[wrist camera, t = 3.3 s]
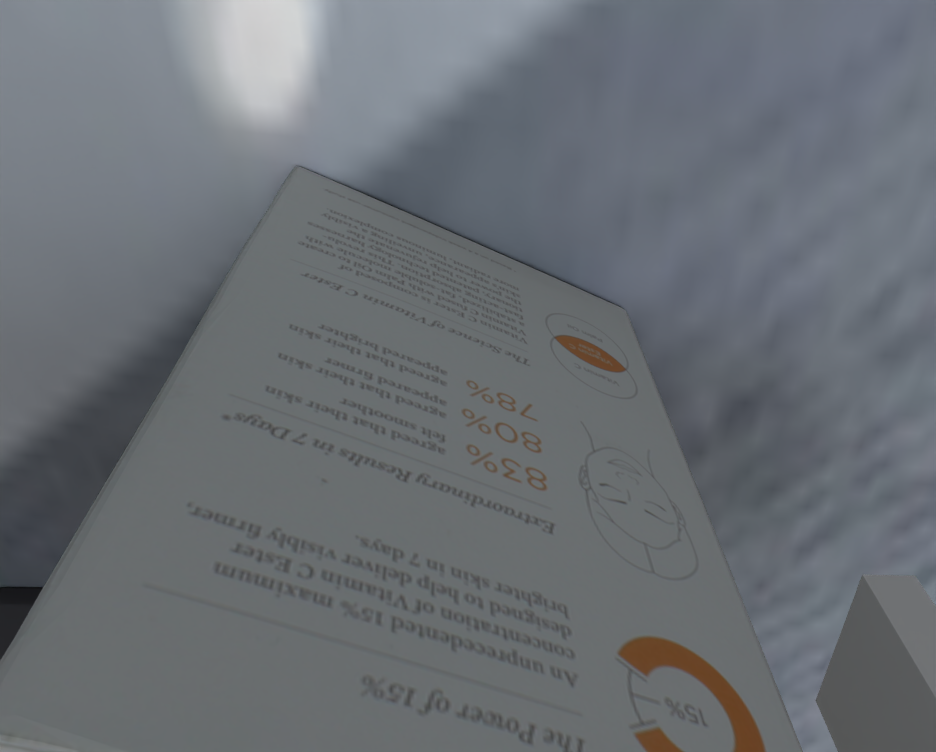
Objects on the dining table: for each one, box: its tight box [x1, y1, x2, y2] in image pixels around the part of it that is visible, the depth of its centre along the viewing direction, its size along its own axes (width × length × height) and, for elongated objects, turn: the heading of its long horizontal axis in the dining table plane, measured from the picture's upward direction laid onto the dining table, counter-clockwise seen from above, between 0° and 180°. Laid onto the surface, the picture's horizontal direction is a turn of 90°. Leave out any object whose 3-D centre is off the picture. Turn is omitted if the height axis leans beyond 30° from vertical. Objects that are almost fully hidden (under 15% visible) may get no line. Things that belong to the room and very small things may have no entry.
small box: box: [0, 167, 803, 752], centre depth 13 cm, size 8×6×13 cm
